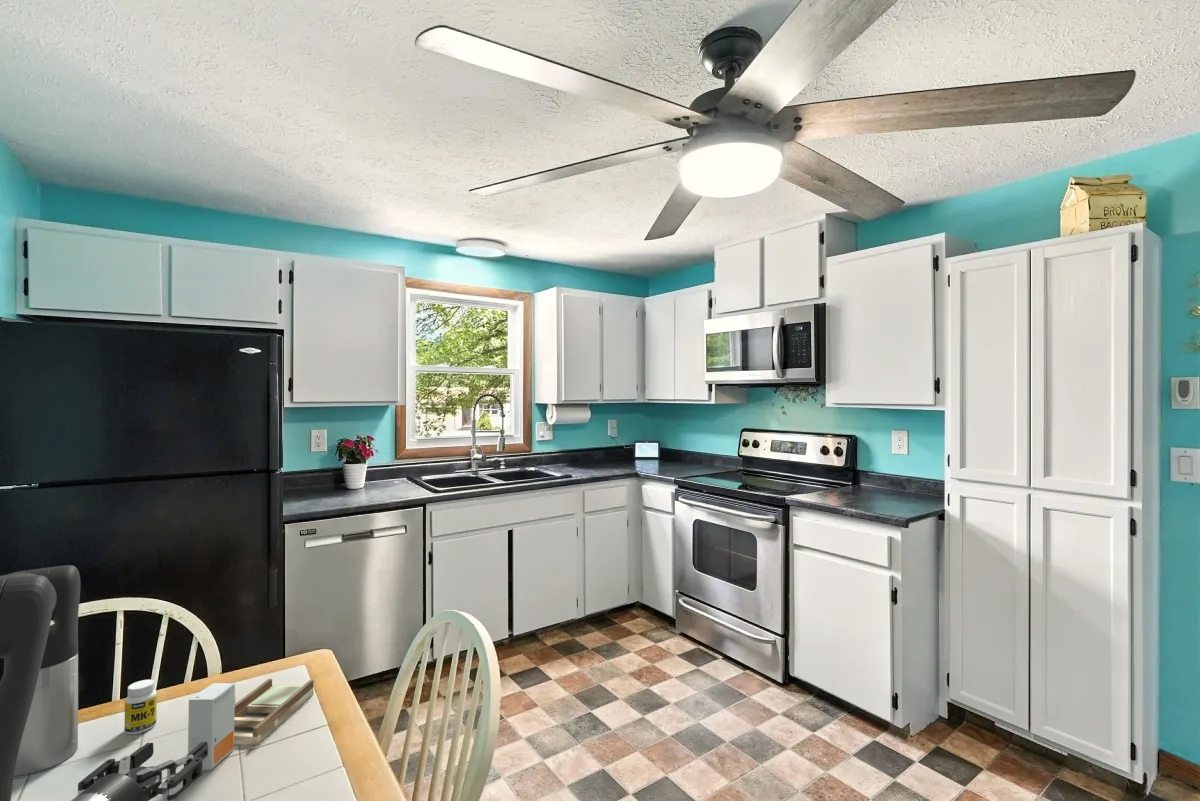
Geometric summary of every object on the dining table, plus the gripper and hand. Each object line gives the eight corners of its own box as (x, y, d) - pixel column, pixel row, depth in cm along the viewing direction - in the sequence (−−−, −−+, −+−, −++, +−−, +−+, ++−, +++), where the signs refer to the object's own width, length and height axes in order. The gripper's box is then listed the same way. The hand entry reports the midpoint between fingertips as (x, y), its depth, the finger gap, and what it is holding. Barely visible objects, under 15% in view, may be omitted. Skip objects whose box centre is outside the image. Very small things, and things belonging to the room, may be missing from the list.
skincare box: (211, 771, 95) (212, 700, 95) (186, 771, 95) (187, 700, 95) (235, 749, 101) (235, 682, 101) (212, 749, 101) (212, 682, 101)
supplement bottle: (128, 738, 104) (128, 693, 104) (121, 729, 107) (121, 685, 107) (160, 726, 108) (160, 682, 108) (152, 718, 111) (152, 675, 111)
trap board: (204, 743, 103) (204, 726, 103) (268, 692, 120) (268, 678, 121) (256, 745, 102) (257, 728, 102) (313, 694, 120) (313, 680, 120)
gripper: (143, 793, 74) (223, 723, 90) (32, 795, 73) (133, 724, 90) (143, 851, 74) (223, 770, 90) (32, 853, 73) (132, 772, 90)
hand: (178, 747), depth 90 cm, fingers open, 8 cm apart
